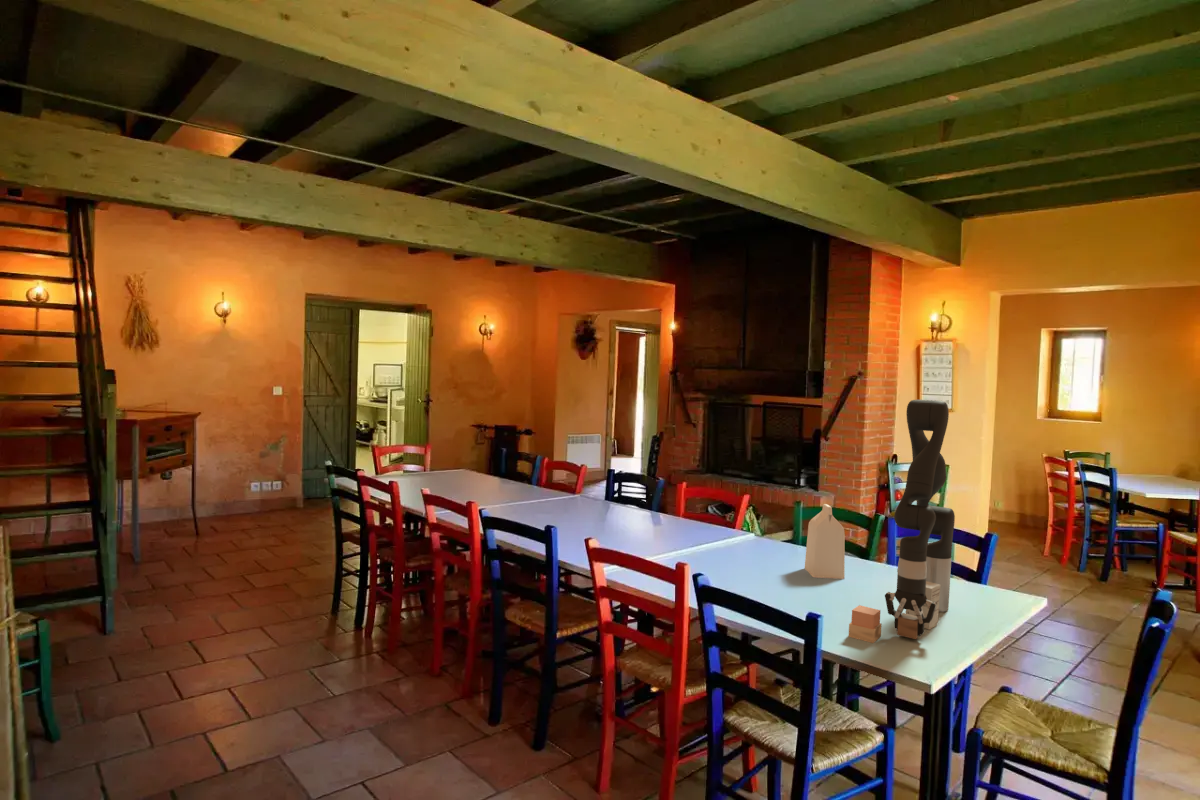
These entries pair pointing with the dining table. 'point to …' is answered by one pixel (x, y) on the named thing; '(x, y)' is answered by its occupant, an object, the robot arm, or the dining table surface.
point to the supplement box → (932, 595)
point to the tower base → (865, 633)
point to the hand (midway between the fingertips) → (908, 632)
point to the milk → (825, 546)
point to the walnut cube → (908, 625)
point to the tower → (865, 617)
